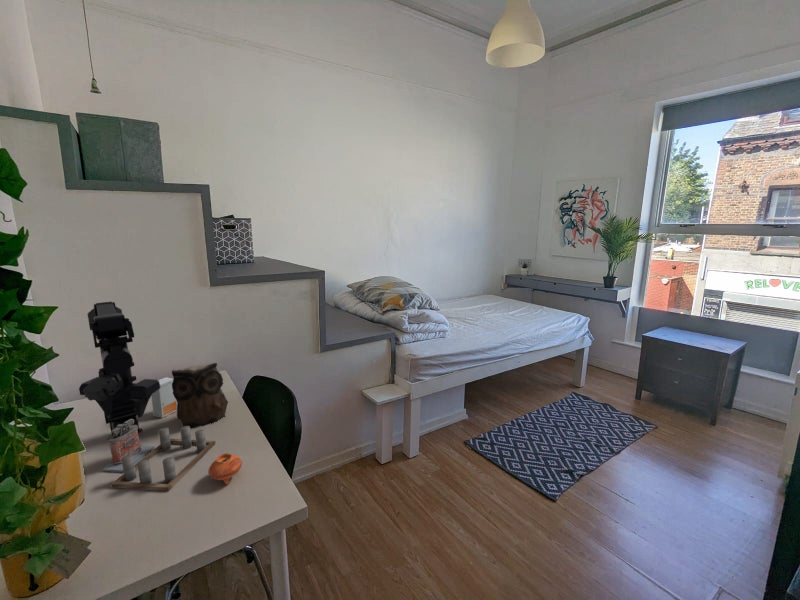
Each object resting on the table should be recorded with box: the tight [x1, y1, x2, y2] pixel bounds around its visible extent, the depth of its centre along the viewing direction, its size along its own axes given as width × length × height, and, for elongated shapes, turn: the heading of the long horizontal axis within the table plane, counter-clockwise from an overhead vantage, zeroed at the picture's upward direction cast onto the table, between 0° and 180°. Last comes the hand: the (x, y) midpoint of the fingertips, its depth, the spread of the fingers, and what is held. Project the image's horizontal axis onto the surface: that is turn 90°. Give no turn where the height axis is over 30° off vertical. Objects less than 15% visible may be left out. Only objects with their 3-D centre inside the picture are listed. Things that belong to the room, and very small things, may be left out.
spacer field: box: [110, 426, 216, 492], centre depth 100 cm, size 15×20×6 cm
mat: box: [102, 445, 156, 473], centre depth 102 cm, size 6×11×1 cm, turn 175°
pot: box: [207, 453, 243, 486], centre depth 95 cm, size 8×8×7 cm
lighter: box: [107, 419, 141, 466], centre depth 102 cm, size 8×3×10 cm, turn 172°
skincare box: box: [150, 377, 178, 419], centre depth 126 cm, size 6×4×12 cm
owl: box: [171, 362, 229, 430], centre depth 121 cm, size 13×13×20 cm
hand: (124, 416), depth 100 cm, fingers open, 9 cm apart
